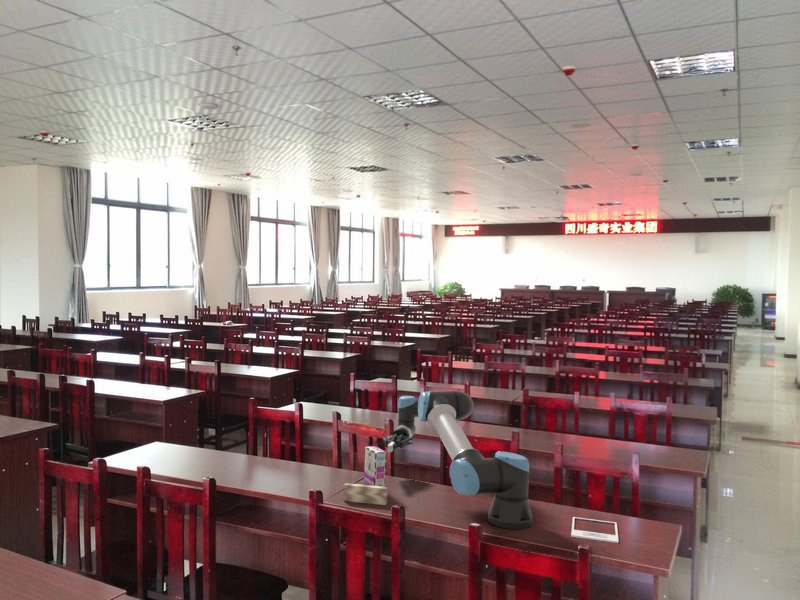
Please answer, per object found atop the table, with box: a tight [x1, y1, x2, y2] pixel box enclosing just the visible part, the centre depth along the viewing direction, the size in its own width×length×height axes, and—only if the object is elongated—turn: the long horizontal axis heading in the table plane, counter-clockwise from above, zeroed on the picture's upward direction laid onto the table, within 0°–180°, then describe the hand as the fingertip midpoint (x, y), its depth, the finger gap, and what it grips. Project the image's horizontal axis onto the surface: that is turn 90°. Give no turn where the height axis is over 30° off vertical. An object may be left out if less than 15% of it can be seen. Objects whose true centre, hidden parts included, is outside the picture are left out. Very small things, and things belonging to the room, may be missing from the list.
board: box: [343, 482, 388, 506], centre depth 234 cm, size 16×2×6 cm, turn 78°
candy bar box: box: [363, 445, 388, 487], centre depth 247 cm, size 11×5×16 cm, turn 25°
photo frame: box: [570, 516, 619, 544], centre depth 213 cm, size 15×1×18 cm
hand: (389, 448), depth 256 cm, fingers closed
